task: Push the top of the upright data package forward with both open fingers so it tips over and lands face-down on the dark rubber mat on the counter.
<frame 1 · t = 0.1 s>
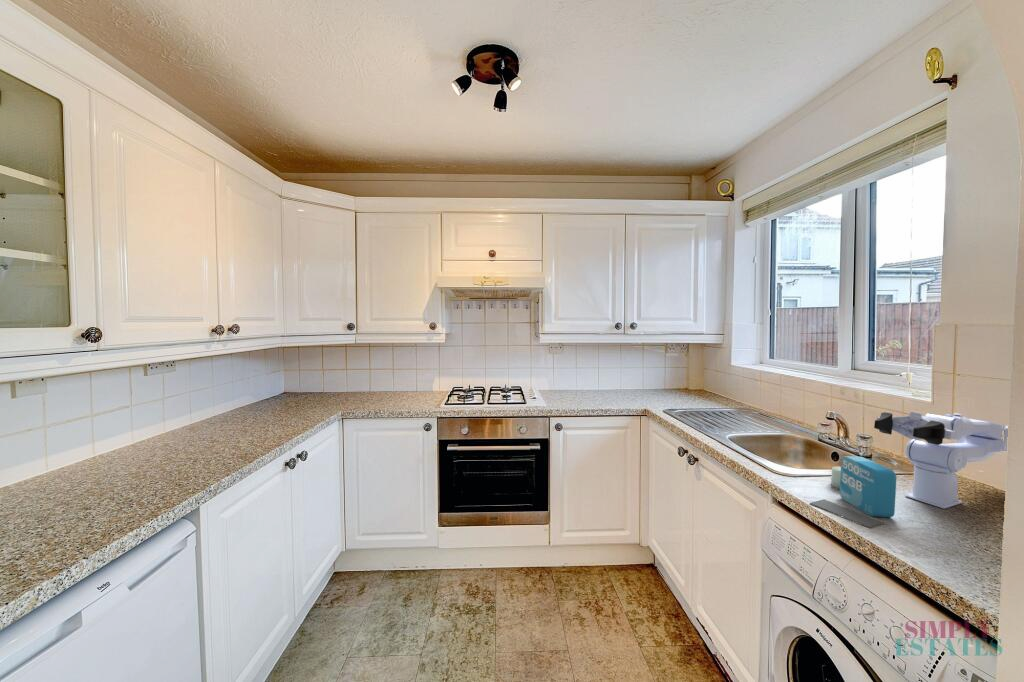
hand: (894, 428, 98), 22 cm above the worktop, tool horizontal, fingers open, 7 cm apart
rubber mat: (845, 513, 98), on the worktop
mint green soap bar: (844, 487, 114), on the worktop
data package: (865, 508, 101), on the worktop
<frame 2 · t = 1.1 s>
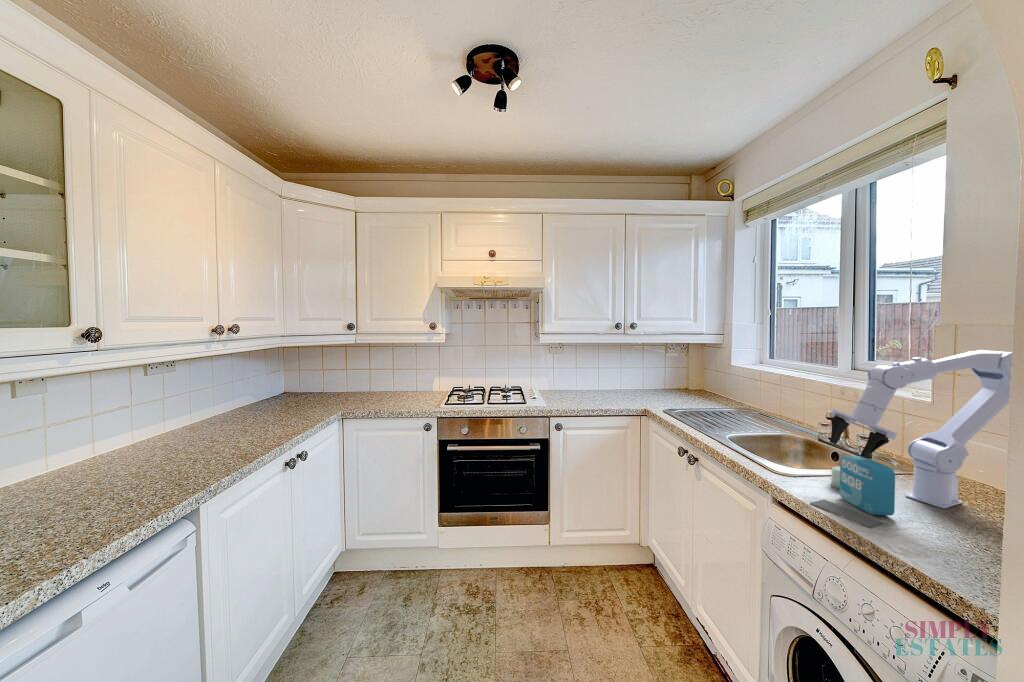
hand: (847, 449, 109), 13 cm above the worktop, tool tilted 25°, fingers open, 7 cm apart
data package: (865, 507, 101), on the worktop, touching gripper
everything else where it was.
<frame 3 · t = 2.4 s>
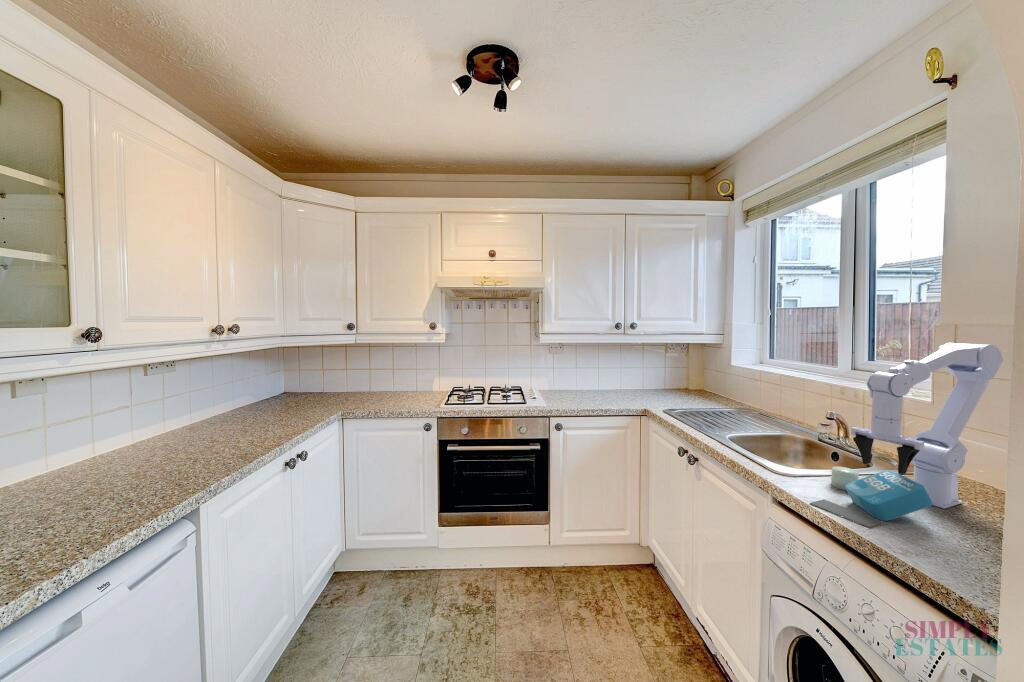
hand: (883, 468, 104), 9 cm above the worktop, tool pointing down, fingers open, 7 cm apart
data package: (860, 503, 100), point 2 cm above the worktop, touching gripper
everything else where it was.
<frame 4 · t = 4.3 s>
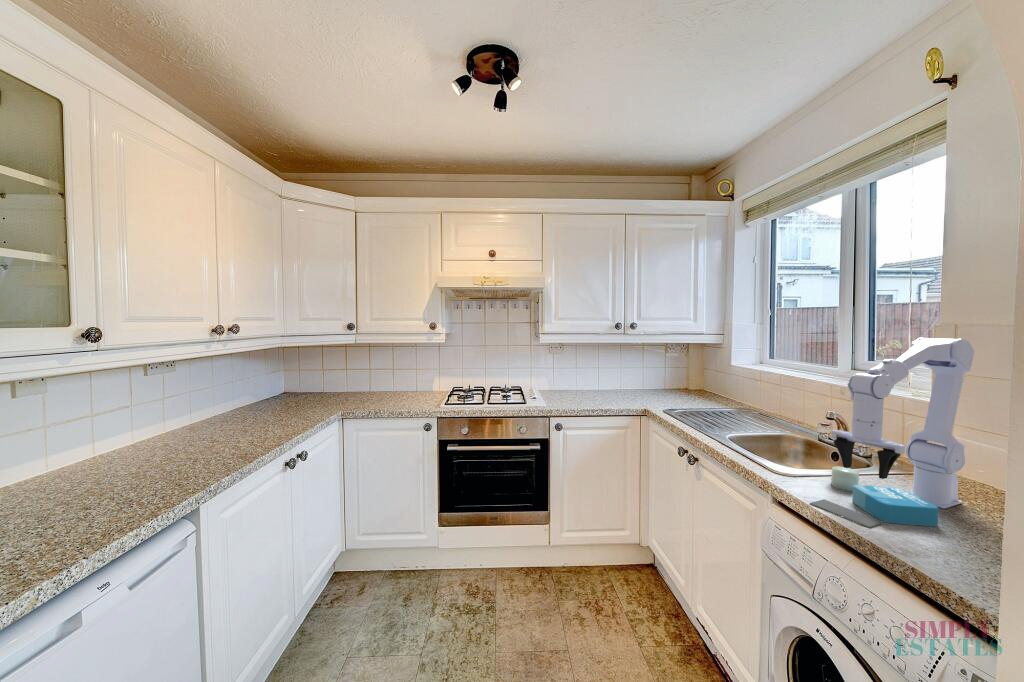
hand: (864, 472, 101), 9 cm above the worktop, tool pointing down, fingers open, 7 cm apart
data package: (864, 502, 99), point 2 cm above the worktop
everything else where it was.
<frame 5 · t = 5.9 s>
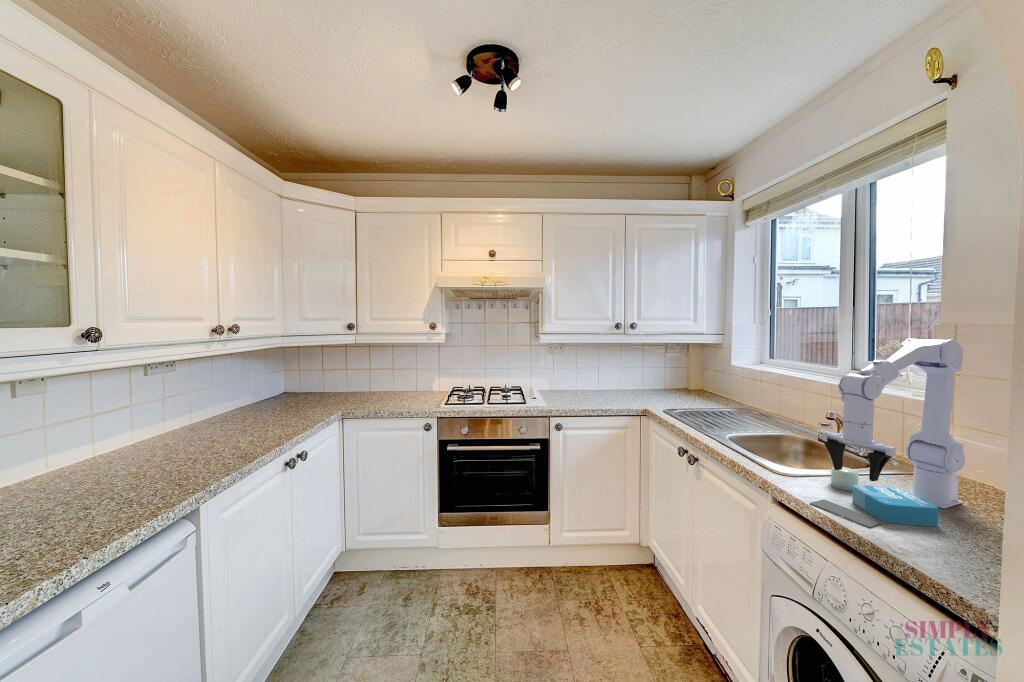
hand: (855, 474, 99), 9 cm above the worktop, tool pointing down, fingers open, 7 cm apart
nothing on the worktop moved.
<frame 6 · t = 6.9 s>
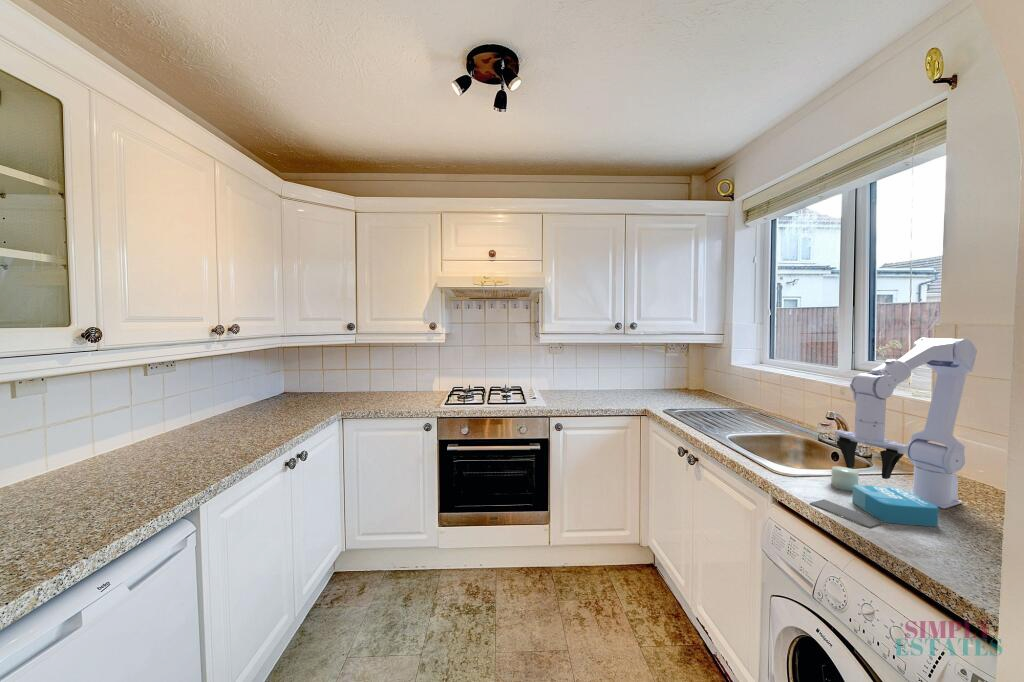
hand: (867, 472, 101), 9 cm above the worktop, tool pointing down, fingers open, 7 cm apart
nothing on the worktop moved.
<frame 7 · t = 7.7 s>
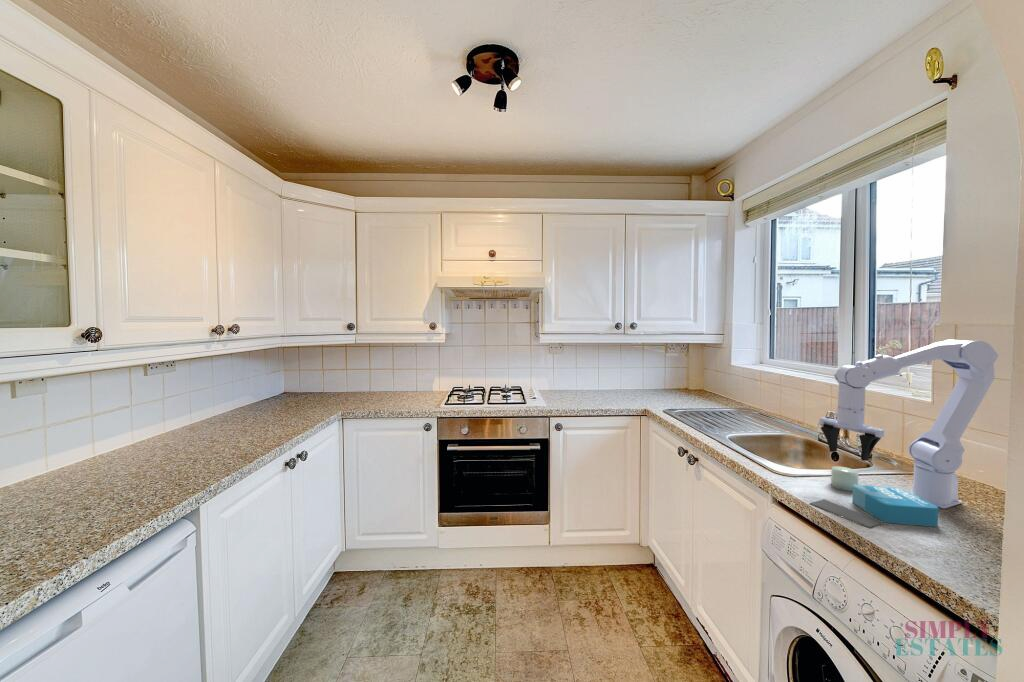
hand: (848, 455, 111), 10 cm above the worktop, tool pointing down, fingers open, 7 cm apart
nothing on the worktop moved.
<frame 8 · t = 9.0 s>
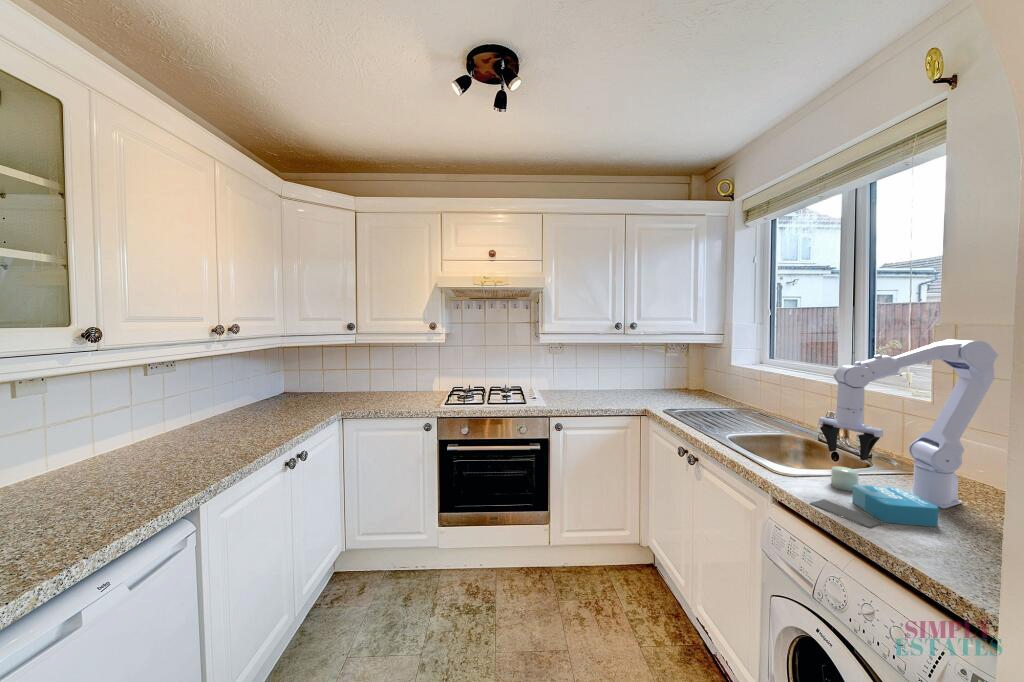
hand: (847, 455, 111), 10 cm above the worktop, tool pointing down, fingers open, 7 cm apart
nothing on the worktop moved.
at the end: data package tilted 90°; data package inside the target area (7.2 cm from its centre), point 2.3 cm above the worktop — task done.
